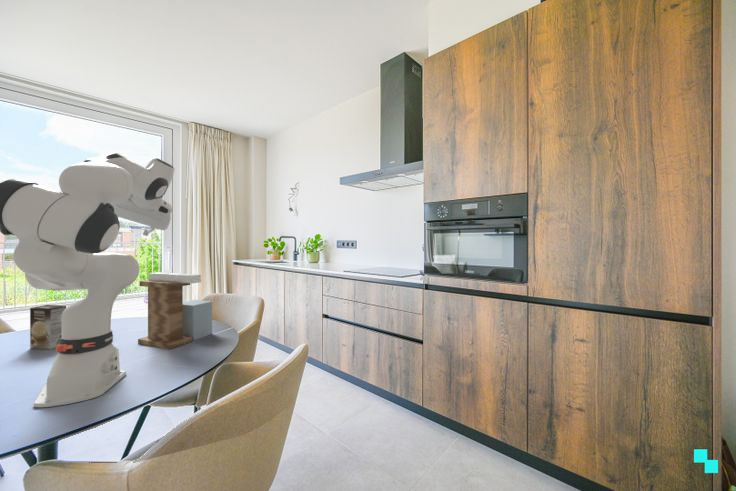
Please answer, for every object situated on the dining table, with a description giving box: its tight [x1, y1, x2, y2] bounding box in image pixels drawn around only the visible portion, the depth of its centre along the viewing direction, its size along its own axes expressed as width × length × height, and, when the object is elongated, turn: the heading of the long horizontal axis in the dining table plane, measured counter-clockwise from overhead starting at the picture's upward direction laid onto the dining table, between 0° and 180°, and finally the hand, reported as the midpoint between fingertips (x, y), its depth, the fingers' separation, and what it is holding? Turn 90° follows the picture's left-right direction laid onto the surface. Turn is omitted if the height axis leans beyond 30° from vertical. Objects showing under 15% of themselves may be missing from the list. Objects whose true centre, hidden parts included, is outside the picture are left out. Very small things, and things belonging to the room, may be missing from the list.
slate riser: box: [183, 299, 213, 342], centre depth 138 cm, size 10×10×15 cm
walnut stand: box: [137, 279, 193, 350], centre depth 128 cm, size 18×10×26 cm, turn 71°
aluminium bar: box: [148, 271, 202, 284], centre depth 126 cm, size 24×4×3 cm, turn 71°
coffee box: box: [29, 304, 67, 350], centre depth 123 cm, size 9×6×16 cm
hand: (130, 230), depth 116 cm, fingers open, 8 cm apart
